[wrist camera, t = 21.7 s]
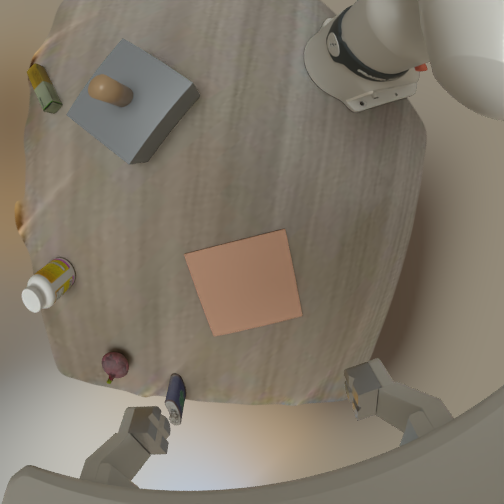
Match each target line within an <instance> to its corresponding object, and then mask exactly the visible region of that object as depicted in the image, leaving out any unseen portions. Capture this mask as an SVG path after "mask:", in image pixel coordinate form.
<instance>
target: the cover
mask: <svg viewBox="0 0 504 504" xmlns="http://www.w3.org/2000/svg"><path fill="white" fill-rule="evenodd" d="M199 97H200V94H199V92H198V91H197V89H196V87H195V86H194V84H193V83H192V82H191V81H189V80H188V79H186V78H185V77H184V76H182V75H181V74H179V73H178V72H176V71H175V70H173V69H172V68H170V67H169V66H167V65H166V64H164V63H163V62H161V61H159V60H158V59H156V58H155V57H153V56H152V55H150V54H148V53H147V52H145V51H144V50H142V49H140V48H139V47H137V46H135V45H134V44H132V43H130V42H128V41H127V40H125V39H122V40H121V41H120V42H119V43H118V44H117V46H116V47H115V48H114V49H113V50H112V52H111V53H110V54H109V55H108V56H107V58H106V59H105V60H104V61H103V63H102V64H101V65H100V67H99V68H98V69H97V70H96V72H95V73H94V74H93V76H92V77H91V79H90V80H89V81H88V83H87V84H86V86H85V87H84V88H83V90H82V91H81V93H80V94H79V96H78V97H77V99H76V100H75V102H74V103H73V105H72V107H71V108H70V110H69V111H68V113H67V116H68V117H70V118H71V119H72V120H73V121H75V122H76V123H77V124H78V125H80V126H81V127H82V128H83V129H85V130H86V131H87V132H88V133H90V134H91V135H92V136H94V137H95V138H96V139H97V140H99V141H100V142H101V143H102V144H104V145H105V146H106V147H107V148H109V149H110V150H111V151H113V152H114V153H115V154H116V155H118V156H119V157H120V158H121V159H123V160H124V161H125V162H126V163H128V164H136V163H143V162H148V161H149V159H150V158H151V157H152V155H153V154H154V153H155V151H156V150H157V148H158V147H159V146H160V145H161V143H162V142H163V141H164V139H165V138H166V137H167V135H168V134H169V133H170V132H171V130H172V129H173V128H174V127H175V125H176V124H177V123H178V122H179V120H180V119H181V118H182V117H183V116H184V114H185V113H186V112H187V111H188V110H189V108H190V107H191V106H192V105H193V104H194V103H195V101H196V100H197V99H198V98H199Z"/></svg>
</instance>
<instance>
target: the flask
mask: <svg viewBox="0 0 504 504" xmlns="http://www.w3.org/2000/svg"><path fill="white" fill-rule="evenodd" d="M185 397H186V389H185V386H184V383H183V380H182V378H181V376H180V375H179V374H172V375H171V378H170V383H169V387H168V392H167V396H166V400H165V405H166V407H167V409H168V411H169V414H170V417H169V420H170V421H171V423H172V424H174V425H180V424H181V418H182V413H183V407H184V401H185Z"/></svg>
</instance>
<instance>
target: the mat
mask: <svg viewBox="0 0 504 504" xmlns="http://www.w3.org/2000/svg"><path fill="white" fill-rule="evenodd" d="M184 256H185V259H186V262H187V264H188V267H189V270H190V273H191V276H192V279H193V282H194V285H195V287H196V290H197V293H198V296H199V298H200V301H201V304H202V307H203V309H204V312H205V315H206V317H207V320H208V322H209V325H210V328H211V330H212V333H213V335H214V336H219V335H224V334H228V333H233V332H238V331H242V330H247V329H251V328H256V327H260V326H264V325H268V324H272V323H277V322H281V321H285V320H289V319H292V318H296V317H300V316H302V311H301V306H300V300H299V295H298V290H297V284H296V279H295V274H294V269H293V264H292V259H291V254H290V249H289V245H288V240H287V235H286V230H285V229H281V230H277V231H273V232H269V233H265V234H261V235H257V236H253V237H249V238H245V239H241V240H237V241H233V242H229V243H225V244H221V245H217V246H213V247H209V248H205V249H201V250H197V251H194V252H190V253H186V254H184Z"/></svg>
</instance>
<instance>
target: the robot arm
mask: <svg viewBox="0 0 504 504" xmlns="http://www.w3.org/2000/svg"><path fill="white" fill-rule="evenodd" d="M304 62H305V66H306V69H307V71H308V73H309V75H310V77H311V78H312V80H313V81H314V82H315V83H316V85H317V86H318V87H320V88H321V89H322V90H323V91H325V92H326V93H328V94H329V95H331V96H333V97H335V98H337V99H339V100H341V101H342V102H343V103H344V104H345V105H346V106H347V107H348V108H349V109H350V110H351V111H353V112H360V111H363V110H366V109H370V108H373V107H376V106H379V105H382V104H386V103H389V102H392V101H396V100H399V99H403V98H406V97H410V96H412V95H414V94H415V92H416V88H417V82H418V80H419V76H420V71H426V70H427V66H426V65H425V63H428V62H430V64H431V67H432V72H433V75H434V77H435V79H436V80H437V81H438V82H439V84H440V85H441V86H442V87H443V88H444V89H445V90H446V91H447V92H448V93H449V94H450V95H451V96H452V97H453V98H455V99H456V100H457V101H458V102H459V103H461V104H462V105H464V106H465V107H467V108H468V109H470V110H472V111H474V112H476V113H478V114H480V115H483V116H485V117H488V118H491V119H496V120H502V121H504V0H357V1H356V2H355V3H354V5H352V6H350V7H348V8H346V9H345V10H344V11H342V12H340V13H339V14H338V15H337V16H335V17H334V18H328V19H326V20H325V21H324V23H323V24H322V27H321V29H320V31H319V32H318V33H316V34H315V35H314V36H313V37H311V39H310V40H309V41H308V43H307V45H306V47H305V51H304ZM360 102H362V104H363V105H362V106H361V105H360ZM344 376H345V378H346V381H345V390H346V394H347V397H348V400H349V402H350V403H352V405H353V406H352V408H353V412H354V414H355V416H356V418H357V421H358V420H361V419H364V418H367V417H370V416H373V415H376V416H378V417H380V418H381V419H383V420H384V421H386V422H387V423H389V424H391V425H392V426H394V427H396V428H397V429H399V430H400V431H402V432H404V435H403V438H402V441H401V443H400V447H398V448H395V449H393V450H391V451H388V452H386V453H383V454H381V455H378V456H376V457H373V458H370V459H367V460H365V461H362V462H359V463H356V464H353V465H350V466H346V467H343V468H340V469H337V470H333V471H330V472H326V473H322V474H318V475H314V476H310V477H306V478H301V479H297V480H292V481H287V482H281V483H276V484H269V485H263V486H257V487H256V486H255V487H247V488H238V489H226V490H208V491H167V490H166V491H165V490H149V489H139V487H138V486H137V485H135V484H134V483H133V482H131V480H132V479H133V477H134V476H135V475H136V474H137V472H138V471H139V469H141V467H142V466H143V465H144V463H145V462H146V461H147V459H148V458H149V457H150V454H167V449H168V441H167V440H166V439H167V437H168V436H169V435H170V424H169V421H168V420H167V418H166V417H165V416H163V415H161V410H160V409H159V407H157V406H152V407H128V408H127V409H126V410H125V413H124V416H123V420H122V422H121V426H120V429H119V432H118V433H115V434H114V435H113V436H112V437H111V438H110V439H109V440H107V441H106V442H105V443H104V444H103V445H102V446H101V447H100V448H99V449H97V450H96V451H95V452H94V453H93V454H92V455H91V456H90V457H88V458H87V459H86V461H85V464H84V467H83V470H82V473H81V476H80V479H78V478H74V477H70V476H66V475H62V474H58V473H55V472H51V471H48V470H44V469H41V468H38V467H36V466H32V465H27V466H25V467H24V468H22V469H21V470H20V471H18V472H17V473H16V474H15V475H14V476H12V478H11V479H10V481H9V483H8V485H7V489H6V492H5V495H4V498H3V502H2V504H504V385H503V386H502V387H500V388H499V389H498V390H497V391H495V392H494V393H492V394H491V395H490V396H489V397H487V398H486V399H484V400H483V401H481V402H480V403H478V404H477V405H475V406H474V407H472V408H471V409H469V410H468V411H466V412H465V413H463V414H461V415H460V416H458V417H456V418H455V419H454V418H453V416H452V415H451V413H450V412H449V410H448V409H447V407H446V406H445V405H444V403H443V402H442V400H441V399H439V398H437V397H434V396H432V395H429V394H426V393H424V392H421V391H419V390H416V389H414V388H412V387H409V386H407V385H405V384H402V383H400V382H395V383H394V381H393V380H392V379H391V377H390V375H389V373H388V372H387V370H386V369H385V367H384V366H383V364H382V362H381V361H380V359H378V358H376V359H373V360H371V361H368V362H365V363H362V364H359V365H356V366H353V367H350V368H347V369H345V370H344Z"/></svg>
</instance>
